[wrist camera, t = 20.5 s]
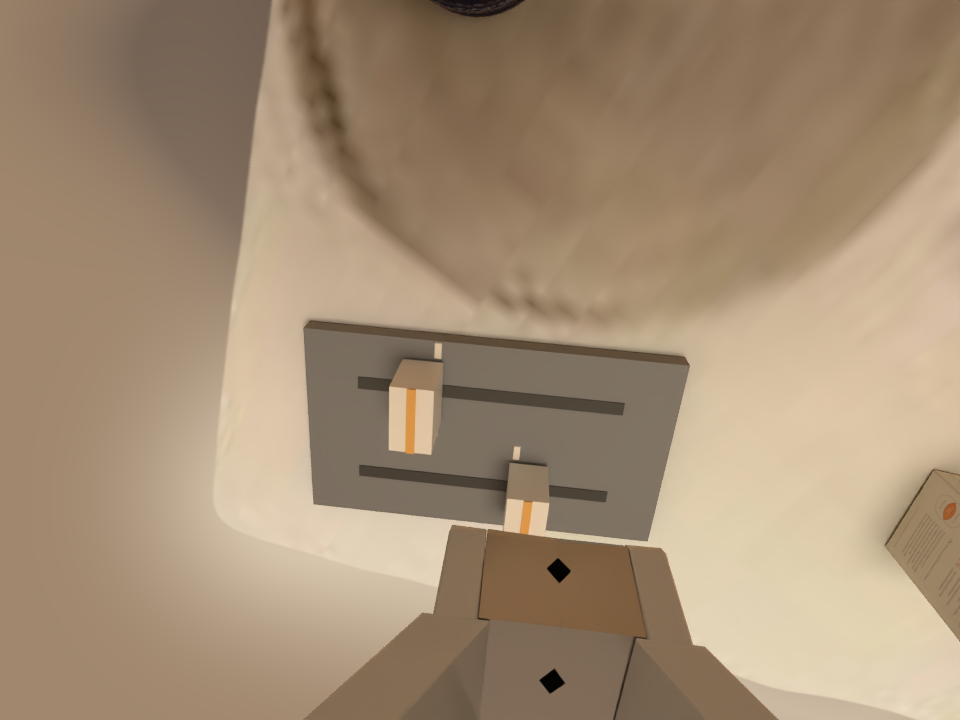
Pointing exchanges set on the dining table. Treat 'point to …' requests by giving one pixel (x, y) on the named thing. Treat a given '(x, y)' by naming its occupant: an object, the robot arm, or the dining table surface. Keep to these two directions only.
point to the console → (494, 427)
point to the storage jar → (478, 6)
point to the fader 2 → (526, 499)
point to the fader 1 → (415, 406)
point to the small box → (933, 545)
